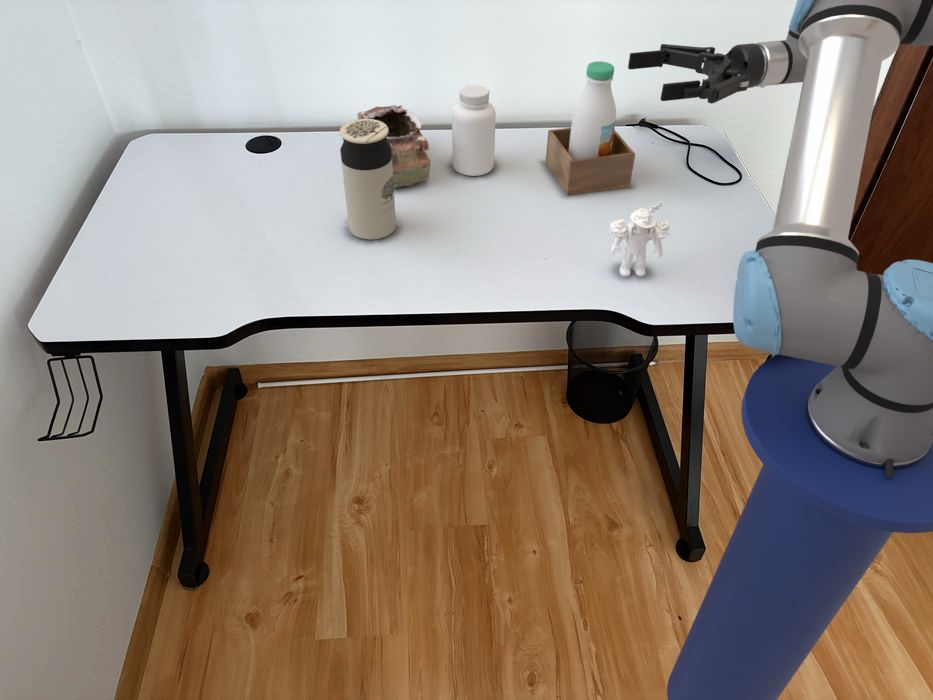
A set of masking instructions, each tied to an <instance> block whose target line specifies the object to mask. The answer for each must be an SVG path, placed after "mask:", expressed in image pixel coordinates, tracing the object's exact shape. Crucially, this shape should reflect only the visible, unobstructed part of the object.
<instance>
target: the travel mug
mask: <svg viewBox="0 0 933 700" xmlns="http://www.w3.org/2000/svg"><path fill="white" fill-rule="evenodd" d="M388 132H389V129H388V127H387V125H386V124H384V123H383V122H381V121H378V120H374V119H358V118H357V119H354V120H350V121H348V122H345V123H344V124H343V125H341V127H340V130H339V135H340V137H341V138H342V140H343V142H342V144H341V146H340V149H339V152H340V160H341V161H340V162H341V169H342V178H343V187H344V195H345V205H346V213H347V224H348V230H349V232H350V233H351V235H353V236H355V237H357V238H360V239H363V240H379V239H383V238H386V237H388V236H390V235H391V234H392V233H394V231H395V230H396V227H397V220H396V219H397V218H396V201H395V188H394V184H393V168H392V151H391V145H390V144H389V142H388V141H387V134H388Z"/></svg>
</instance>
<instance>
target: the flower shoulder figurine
mask: <svg viewBox="0 0 933 700" xmlns="http://www.w3.org/2000/svg"><path fill="white" fill-rule="evenodd" d="M663 204H664V203H663V202H659V204H656V205H654V206H653V205H651V206H650V207H649V210H648V209H647V208H644V207H641V208H638V209H637V210H635V211H633V212H632V213H631V214H630V220H631V221H629V222H628V223H627V224H626V220H625V219H622V218H619V219H618V218H615V219H614V220H613V221H611V223H610V224H609V225H610V226H609V227H610V228H609V234H610V235H612V234H614V236H615V238H614V240H613V243H612V245H611V246H610V250H609V251H610V255H611V256H615V251H616V250H617V251H618V253H620V252H621V245H620V244H621V243H622V242H623V240H625V242H626V243H627V244H626V247H625V249H624V255H623V260H622V262H621V264H620V267H619V274H620V275H621V276H622V277H630V276H631V267H632V262H633V258H634V256H636V261H635V263H634V266H633V271H634V274H635V275H636V276H637V277H645V275H646V272H647V271H646V261H647V260H646V258H647V244H648V243H649V241H653V244H654V246H655V247H654V248H653V250H652V254H656V253H657V256H656V258H657V259H659V258H662V257H663V253H664V251H663V246H662V240H663V239H665V238H667V237H668V236H670V235H669V234H670V233H669V230H670V222H668V221H667V220H665V219H663V220H662V219H659V220H656V219H655V217H654V216H653V215H652V214H651V213H654V214H655V212H656V210H660V208H661V207H662V205H663ZM617 234H618V235H617ZM659 235H662V237H661V236H659ZM663 235H665V236H663Z"/></svg>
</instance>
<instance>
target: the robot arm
mask: <svg viewBox="0 0 933 700" xmlns="http://www.w3.org/2000/svg"><path fill="white" fill-rule="evenodd" d="M900 45H907V46H922V47H925V46H926V47H928V46H932V47H933V0H796V4H795V6H794V9H793V13H792V15H791V18H790V21H789V24H788V32H787V35H786V39H782V40H771V41H761V42H755V43H753V42H752V43H751V42H750V43H742V44H740V43H739V44H736V45H733V47H731V48H730V50H729V51H728V52H727V53H726V54H724V53H719V52H716V47H715V46H714V47H713V46H705V47H701V46H691V45H680V44H679V45H677V44H668V43H667V44H666V43H661V44H660V48H659V50H649V51H638V52H637V51H636V52H630V53H629V58H628V64H627V69H628V70H639V69H649V68H662V67H663V66H664V65H667V66H673V67H678V68H684V69H689V70H694V71H695V73H697V74H700V75H705V76H707V77H708V78H703V79H702V82H701V81H700V80H699V79H697V80H689V81H679V82H678V81H677V82H668V83H663V84H662V87H661V88H662V89H661V95H660V101H661V102H668V101H669V102H670V101H678V100H687V99H697V98H698V99H701V100H707V103H708V104H716V103H717V102H720V101H722V100H723V99H726V98H728V97H730V96H732V95H735V94H736V93H740V92H746V91H748V89H752V88H758V87H759V88H762V89H764V88H765V87H769V86H778V85H786V84H787V85H788V84H789V85H790V84H799V83H802V85H801V90H800V96H799V100H798V104H797V109H796V114H795V119H794V123H793V124H794V125H793V129H792V134H791V138H790V139H791V140H790V144H789V147H788V153H787V157H786V163H785V167H784V171H783V172H784V173H783V177H782V183H781V187H780V193H779V198H778V202H777V208H776V212H775V216H774V221H773V227H772V229H771V231H768V232H767V233H766V234H764V235H763V236H761V237H760V238H759V239H758V240H757V241H756V246H755V250H750V251H746V252H744V253H743V254H742V255H741V258H740V260H739V264H738V268H737V276H736V280H735V286H734V295H733V307H732V308H733V309H732V313H733V314H732V319H733V320H732V321H733V322H732V323H733V330H734V335H735V337H736V339H737V341H738V342H739V343H740V344H741V345H743V346H744V347H746V348H748V349H749V348H750V349H754V350H756V351H761V352H765V353H768V354H769V355H771V356H775V355H778V354H779V355H784V356H789V357H795V358H800V359H805V360H809V361H814V362H819V363H823V364H828V365H833V366H837V367H836V368H835V369H834V370H833V371H832V372H831V373H829V374H828V375H827V376H826V377H825V378H824V379H822V380H821V381H820V382H819V383H818V384H817V385H816V387H815V388H814V389H813V391H812V392H811V395H810V397H809V399H808V401H807V404H806V416H807V420H808V422H809V425H810V427H811V428H812V430H813V431H814V433H815V434H816V435H817V437H818V438H819V439H820V440H821V441H822V442H823V443H824V444H825V445H826V446H828V447H829V448H830V449H832V450H833V451H834V452H836V453H837V454H839V455H841V456H843V457H844V458H846V459H848V460H851V461H853V462H855V463H858V464H861V465H864V466H868V467H872V468H877V469H885V473H886V477H893V470H894V469H902V468H907V467H910V466H912V465H915V464H916V463H918V462H919V461H921V460H922V459H923V458H924V456H925V455H926V454H927V452H928V450H929V449H930V447H931V445H932V443H933V263H932V262H930V261H924V260H920V259H905V260H901V261H900V260H899V261H896V262H894V263H892V264H890V266H889V267H887V268H886V269H885V270H884V272H883V274H877V273H872V272H867V271H861V270H858V268H857V267H858V263H859V262H858V261H859V256H860V252H859V250H858V248H857V247H856V246H855V245H854V244H853V243H852V242H851V241H850V240H849V235H850V229H851V224H852V219H853V216H854V215H853V214H854V209H855V203H856V198H857V194H858V188H859V183H860V178H861V172H862V166H863V162H864V158H865V157H864V156H865V152H866V147H867V142H868V138H869V137H868V135H869V130H870V126H871V121H872V116H873V110H874V104H875V101H876V96H877V89H878V84H879V80H880V74H881V69H882V63H883V62H884V61H886V60H887V59H889V58H890V57H892V55H894V54H895V52H896V51H897V50H898V49H899V46H900ZM715 52H716V53H715Z"/></svg>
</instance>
